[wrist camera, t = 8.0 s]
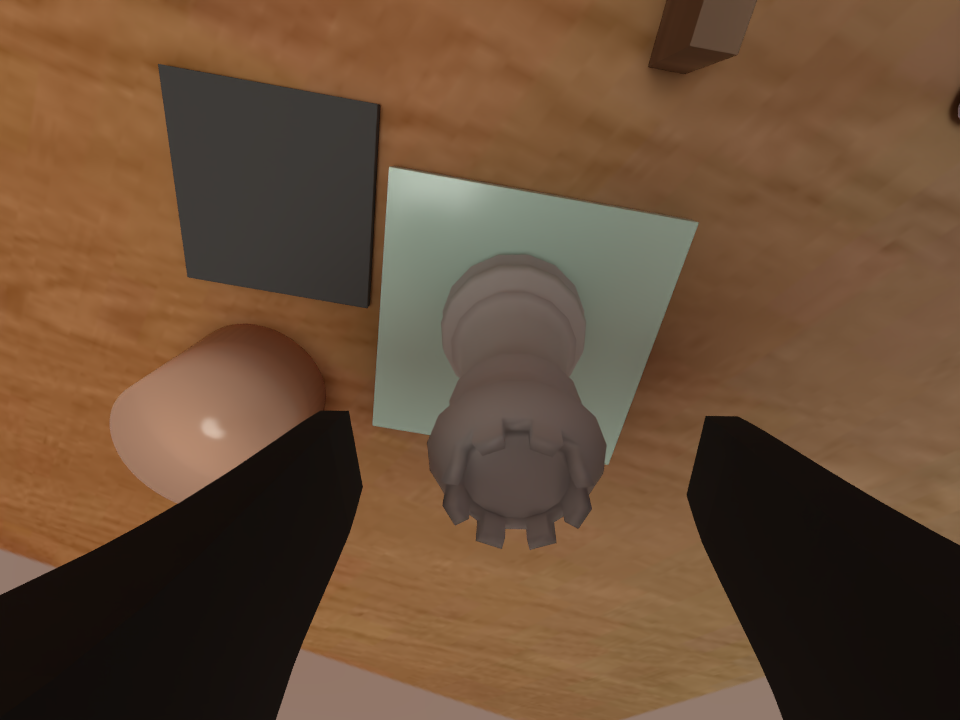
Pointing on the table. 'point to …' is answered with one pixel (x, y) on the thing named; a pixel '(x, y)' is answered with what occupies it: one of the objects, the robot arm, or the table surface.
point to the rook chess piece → (515, 403)
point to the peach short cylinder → (214, 408)
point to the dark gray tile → (273, 185)
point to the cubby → (700, 33)
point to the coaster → (518, 231)
